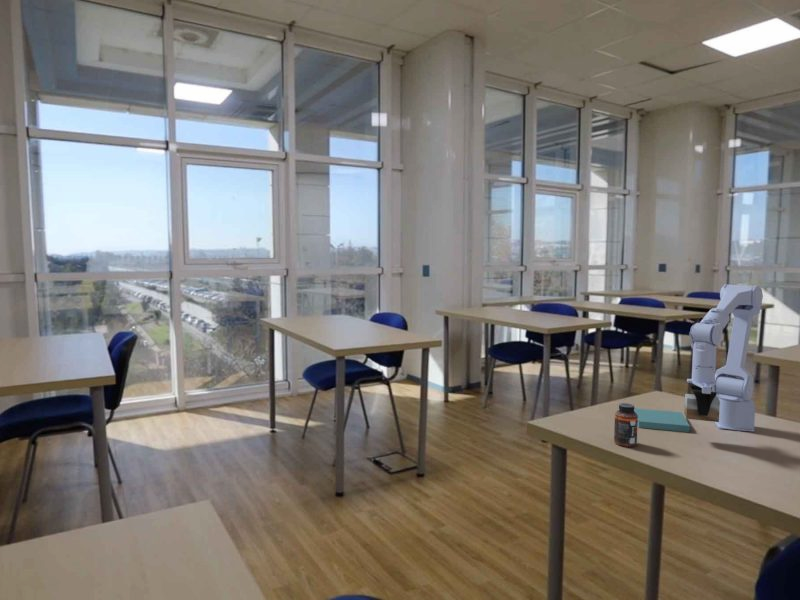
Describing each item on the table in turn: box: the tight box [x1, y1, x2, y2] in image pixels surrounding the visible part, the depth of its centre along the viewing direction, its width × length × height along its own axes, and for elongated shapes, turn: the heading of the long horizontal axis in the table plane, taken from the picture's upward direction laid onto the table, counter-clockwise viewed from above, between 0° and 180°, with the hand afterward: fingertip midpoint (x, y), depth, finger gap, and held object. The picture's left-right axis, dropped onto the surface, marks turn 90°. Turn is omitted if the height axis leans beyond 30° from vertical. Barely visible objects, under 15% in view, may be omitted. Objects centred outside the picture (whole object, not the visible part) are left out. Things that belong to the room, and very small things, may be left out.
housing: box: [683, 393, 720, 423], centre depth 148 cm, size 8×5×6 cm, turn 67°
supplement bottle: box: [613, 402, 638, 448], centre depth 147 cm, size 6×6×11 cm
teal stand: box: [634, 407, 691, 433], centre depth 165 cm, size 14×14×2 cm
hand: (701, 412), depth 148 cm, fingers closed on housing, 5 cm apart
